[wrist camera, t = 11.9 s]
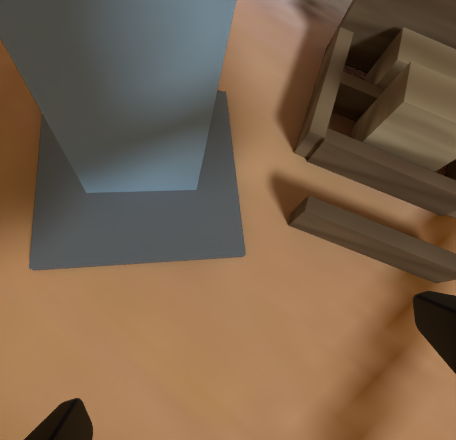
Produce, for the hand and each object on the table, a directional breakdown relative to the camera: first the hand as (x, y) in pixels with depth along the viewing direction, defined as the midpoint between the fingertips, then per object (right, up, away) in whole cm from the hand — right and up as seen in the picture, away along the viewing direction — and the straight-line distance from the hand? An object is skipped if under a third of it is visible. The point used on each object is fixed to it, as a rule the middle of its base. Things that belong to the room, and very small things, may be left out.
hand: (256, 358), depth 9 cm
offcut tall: (+10, +8, +15) cm, 20 cm away
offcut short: (+12, +12, +17) cm, 24 cm away
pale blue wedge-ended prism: (-6, +7, +11) cm, 14 cm away
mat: (-6, +6, +11) cm, 14 cm away
